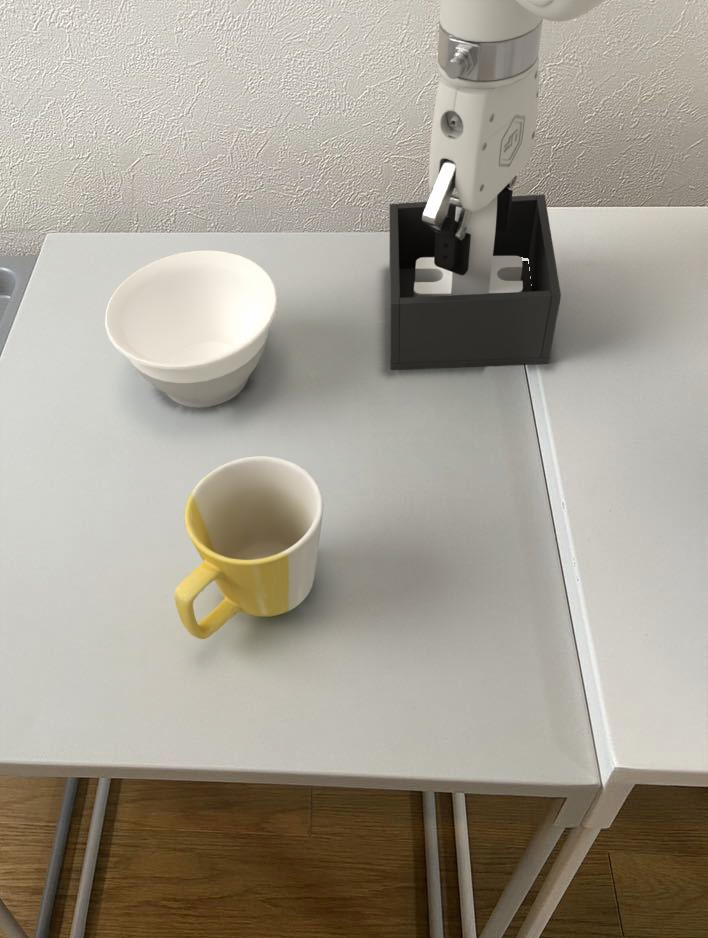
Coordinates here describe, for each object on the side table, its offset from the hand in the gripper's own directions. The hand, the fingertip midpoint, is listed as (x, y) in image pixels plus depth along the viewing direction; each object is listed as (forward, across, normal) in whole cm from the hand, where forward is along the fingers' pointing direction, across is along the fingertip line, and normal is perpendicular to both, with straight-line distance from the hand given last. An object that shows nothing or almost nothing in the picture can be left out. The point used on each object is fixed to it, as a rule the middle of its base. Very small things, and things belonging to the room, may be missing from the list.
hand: (471, 245), depth 85 cm
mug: (+8, -38, -3) cm, 39 cm away
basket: (+8, 0, 0) cm, 8 cm away
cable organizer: (+5, 0, 0) cm, 5 cm away
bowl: (+8, -20, +17) cm, 28 cm away
